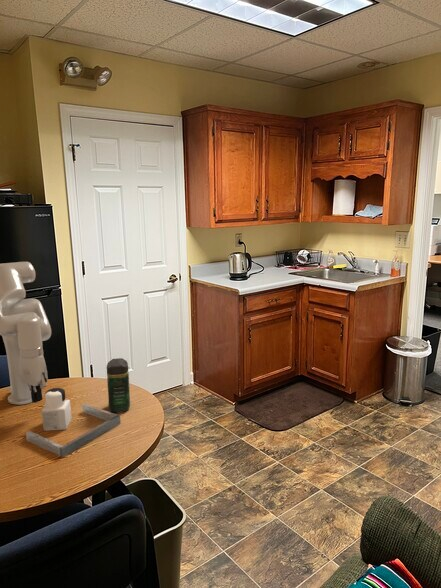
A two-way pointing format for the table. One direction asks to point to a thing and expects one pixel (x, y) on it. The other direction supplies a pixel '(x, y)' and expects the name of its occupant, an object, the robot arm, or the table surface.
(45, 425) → the container
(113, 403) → the coffee jar
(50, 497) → the table surface
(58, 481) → the table surface
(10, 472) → the table surface
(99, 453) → the table surface
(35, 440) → the bracket
